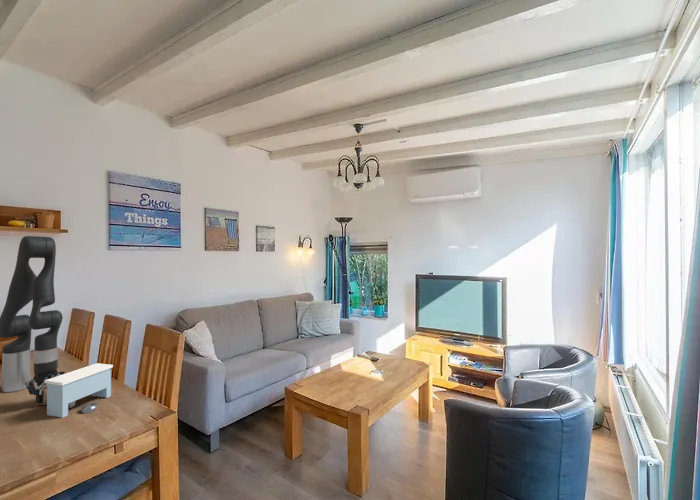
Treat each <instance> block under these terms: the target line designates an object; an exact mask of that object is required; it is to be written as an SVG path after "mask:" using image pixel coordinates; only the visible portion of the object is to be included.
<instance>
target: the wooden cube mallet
mask: <svg viewBox="0 0 700 500" xmlns="http://www.w3.org/2000/svg"><path fill="white" fill-rule="evenodd" d="M42 394H43V403H41V404H38V403H36V405H41V406H45V405H46V406H47V385H45V388H44V389H43V392H42ZM73 407H76V401H73V402H71V403H68V409H69V408H70V409H71V408H73Z"/></svg>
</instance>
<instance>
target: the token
mask: <svg viewBox="0 0 700 500" xmlns="http://www.w3.org/2000/svg"><path fill="white" fill-rule="evenodd" d="M97 410H98V403H96V402H93V403H87V404H84V405H82V406H81V414H90V413H94V412H95V411H97Z"/></svg>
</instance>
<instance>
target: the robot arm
mask: <svg viewBox="0 0 700 500" xmlns="http://www.w3.org/2000/svg"><path fill="white" fill-rule="evenodd" d="M56 247H57V246H56V242H55V239H54V238H53V237H50V236H40V235H39V236H37V235H25V236H23V237H22V238H21V240H20V242H19V245H18V250H17V257H16V263H15V268H14V272H13V274H12V278H11V280H10V284H9V287H8V292H7V296H6V300H5V304H4V307H3V310H2V312H1V314H0V338H3V339H5V338H12V337H17V338H15V339H14V340H12V341H10V342H9V343H6V344H5V345H4V346H2V349H1V352H2V354H1V355H2V357H1V360H2V365H1V367H2V368H1V379H0V380H1V383H0V384H1V385H0V386H1V388H0V389H1V390H2V391H1V392H3V393H12V392H19V391H23V390H25V389H27V391H28V393H29V395H32V396H35V403H36V404H37V403H38V404H37V405H40V404H41V403H43V394H42V392H43V389H44V388H45V386H47V383H45V380H48V379H51V378H54V377H57V376H60V375H63V374H66V372H65V371H63V370H58V368H59V367H58V366H59V364H58V362H59V357H58V356H59V355H58V336H59V331H60V328H61V324H62V322H63V314H62V312H61V311H59V310H58V309H57V310H56V309H55V310H53V309H52V310H47V311H41V309H42V308H44V307H48V306H51V305H53V304H55V303H56V296H55V295H56V294H55V283H54V282H55V281H54V279H55V269H56V254H57V248H56ZM30 259H44V264H43V267H42V268H41V270H40V272H39V273H38V275H36V273H35V272H34V270H33V269H32V268H31V265H30ZM31 302H32V307H31V311H30V315H29V314H20V315H17V314H18V313H19V312H20V311H21V310H22V309H24V307H26V306H27V305H28V304H29V303H31ZM44 329H48V330H47V331H45V332H44V333H40V334H38V335H36V336H35V337H34V342H33V343H34V352H33V373H34V376H33V378H32V379H31V345H32V344H31V343H32V330H37V331H38V330H44Z"/></svg>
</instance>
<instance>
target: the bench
mask: <svg viewBox="0 0 700 500" xmlns="http://www.w3.org/2000/svg"><path fill="white" fill-rule="evenodd" d="M112 368H114V364H110V363H109V364H106V363H98V362H97V363H96V362H95V363H92V364H90V365H87V366H85V367H81V368H78V369H75V370H72V371H68V372H65V374H63V375H60V376H56V377H54V378H51V379H48V380H45V383H47V384H46V386H47V404H46V416H49V417H50V416H51V417H56V418H57V417H58V418H65V417H68V416H69V408H68V403H71V402H73V401H75V402H76V401H77V400H81V399H82V398H85V397H88V396H91V395H92V397H96V396H97V398H103V397H105V399H108V398H110V397H112ZM107 397H108V398H107Z"/></svg>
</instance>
